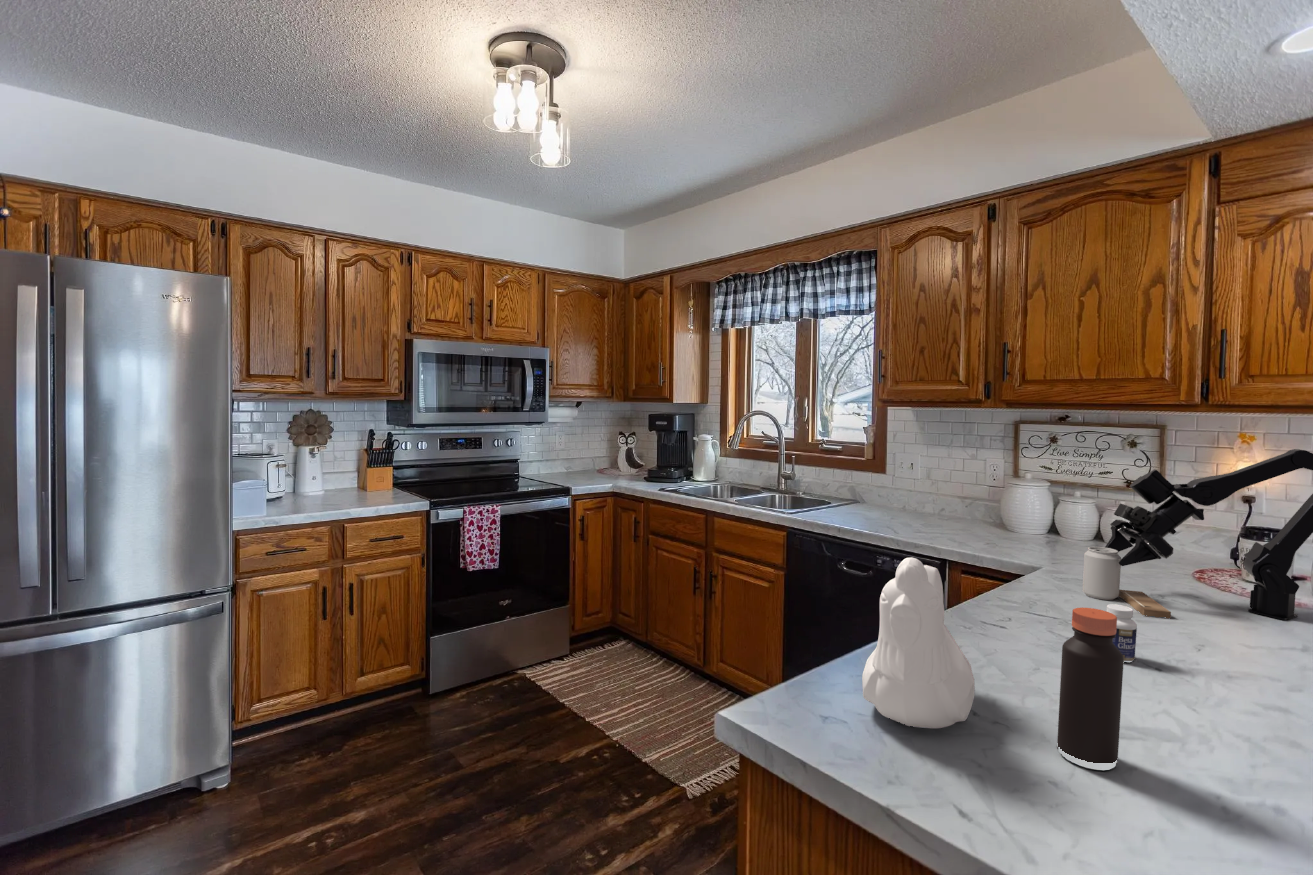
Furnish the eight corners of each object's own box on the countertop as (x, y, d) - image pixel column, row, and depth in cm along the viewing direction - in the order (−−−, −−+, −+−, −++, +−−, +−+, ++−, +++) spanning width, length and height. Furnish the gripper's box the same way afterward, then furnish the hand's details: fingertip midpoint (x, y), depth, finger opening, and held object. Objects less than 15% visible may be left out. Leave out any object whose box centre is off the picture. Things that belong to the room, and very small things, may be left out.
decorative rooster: (945, 760, 85) (953, 578, 83) (838, 717, 96) (843, 556, 94) (1005, 699, 103) (1012, 547, 101) (909, 669, 114) (914, 532, 112)
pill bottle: (1119, 665, 116) (1122, 613, 116) (1092, 653, 121) (1095, 603, 121) (1142, 662, 118) (1145, 610, 117) (1114, 651, 123) (1117, 601, 122)
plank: (1117, 595, 158) (1118, 589, 158) (1141, 597, 157) (1142, 591, 157) (1143, 615, 143) (1144, 609, 143) (1170, 618, 142) (1170, 611, 142)
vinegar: (1092, 744, 89) (1100, 604, 88) (1130, 772, 83) (1139, 622, 81) (1045, 744, 89) (1052, 604, 88) (1079, 772, 82) (1087, 622, 81)
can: (1107, 592, 161) (1109, 545, 160) (1125, 601, 153) (1128, 552, 153) (1075, 591, 162) (1078, 544, 161) (1093, 600, 154) (1095, 551, 153)
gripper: (1121, 488, 163) (1070, 528, 167) (1161, 499, 145) (1104, 543, 148) (1154, 520, 162) (1102, 559, 165) (1199, 536, 144) (1140, 579, 147)
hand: (1111, 559), depth 157 cm, fingers open, 9 cm apart
